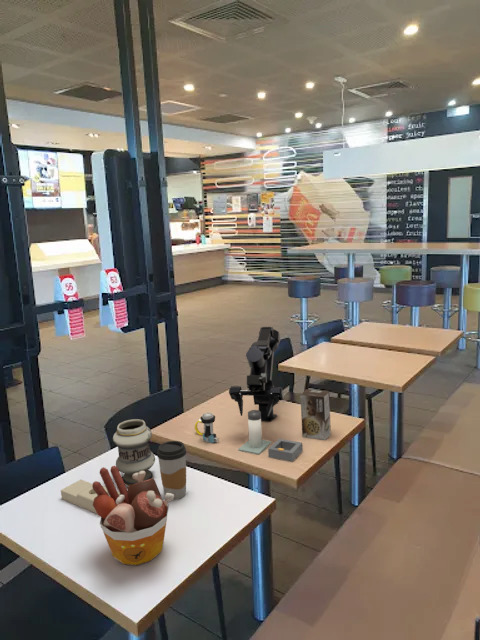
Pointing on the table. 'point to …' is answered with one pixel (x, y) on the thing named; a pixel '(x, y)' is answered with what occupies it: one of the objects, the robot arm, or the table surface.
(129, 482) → the apothecary jar
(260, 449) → the rubber mat
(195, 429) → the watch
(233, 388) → the robot arm
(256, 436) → the white capped cylinder
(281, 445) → the grey square holder
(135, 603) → the table surface
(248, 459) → the table surface
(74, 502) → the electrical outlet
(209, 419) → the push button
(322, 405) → the coffee box
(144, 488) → the bucket of meat
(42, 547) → the table surface
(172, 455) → the coffee cup
